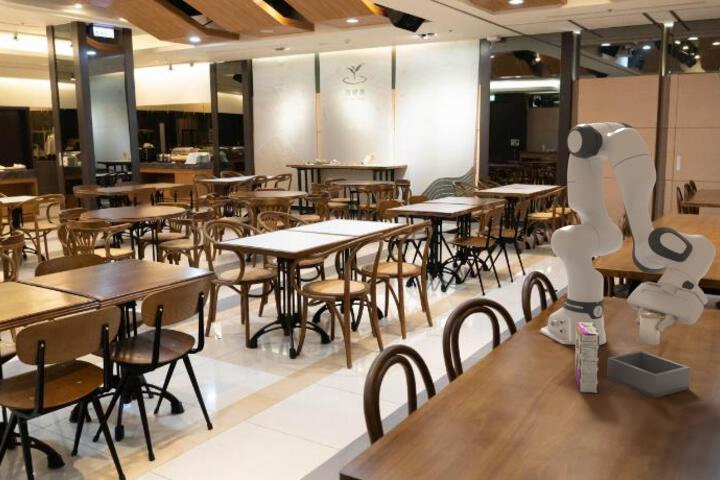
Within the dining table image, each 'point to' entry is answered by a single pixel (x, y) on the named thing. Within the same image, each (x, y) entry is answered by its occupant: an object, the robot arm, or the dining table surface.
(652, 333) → the jar
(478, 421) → the dining table surface
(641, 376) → the tote
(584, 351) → the candy bar box
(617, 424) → the dining table surface
